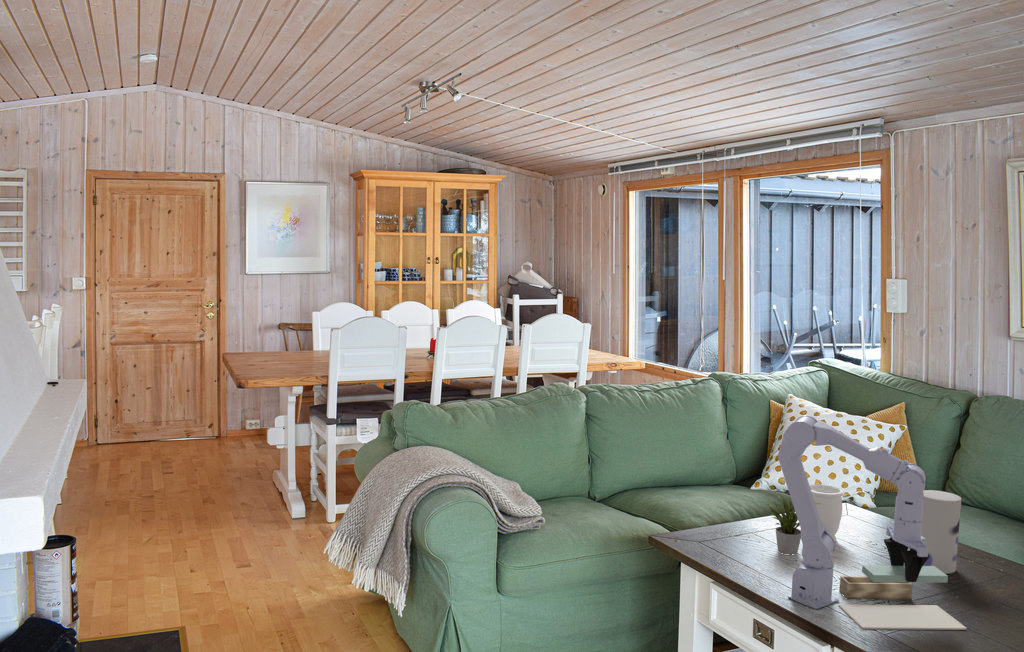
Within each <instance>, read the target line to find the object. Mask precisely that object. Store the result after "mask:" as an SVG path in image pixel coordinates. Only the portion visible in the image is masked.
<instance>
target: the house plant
mask: <svg viewBox="0 0 1024 652" xmlns="http://www.w3.org/2000/svg"><path fill="white" fill-rule="evenodd" d="M776 496H777V497H779V500H780V501H781V503H782V505H783V509H782V508H781V507H780V506H779V505H778V504H777V503H776V502H775V501H773V500H772V499H770V498H768V500H769V501H771V502H772V503H773V504H774V506H775V507H776V508H777V509H776V508H774V507H773V506H772V505H771V504H769V503H767V506H768V508H769V509H770V511H771V512H772V513H770V514H768V516H771V518H772V519H776V520H778V521H779V522H776V523H775V525H774V526H776V525H779V526H777V527H776V528H775V536H776V545H777V546H776V547H777V552H778V551H779V552H780V553H779V552H778V553H779V554H781V553H783V554H782V555H784V554H789V555H788V556H793V555H792V554H797V555H798V552H799V548H800V545H801V544H800V543H801V541H802V540H801V529H799V527H800V524H799V521H798V518H797V515H796V512H795V509H794V505H793V502H792V499H791V496H789V498H788V499H789V506H788V503H787V501H786V500H785V498H784V497H782V496H780V495H779V494H776ZM815 504H819V503H815ZM783 510H784V511H783Z"/></svg>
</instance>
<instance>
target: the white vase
mask: <svg viewBox="0 0 1024 652" xmlns="http://www.w3.org/2000/svg"><path fill="white" fill-rule="evenodd" d="M809 486H810V489H811V492H812V495H813V498H814V501H815V503H819V504H816V507H817V510H818V513H819V516H820V519H821V521H822V522H823V524H824V525H825V527H826V530H827V532H828V533H829V534H830V535H831V536H832V538H833V539H834V542H837V537H836V534H837V532H838V531H839V528H840V523H841V520H842V517H843V516H842V515H843V500H842V497H843V496H844V491H843V489H841V488H838V487H835V486H831V485H825V484H809Z"/></svg>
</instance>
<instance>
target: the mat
mask: <svg viewBox="0 0 1024 652" xmlns="http://www.w3.org/2000/svg"><path fill="white" fill-rule="evenodd" d="M838 607H839V608H840V609H841V610H842V611H843V612H844V613H845V614H846V615H847V616H848V617H849V618H850V619H852V621H854V623H856V625H858V626H859V628H861V630H926V631H927V630H929V631H930V630H931V631H932V630H933V631H934V630H939V631H940V630H942V631H944V630H945V631H946V630H947V631H950V630H951V631H952V630H953V631H954V630H955V631H958V630H962V631H963V630H966V631H967V629H968V627H966V626H964V624H962V623H961V622H960V621H958V620H957V619H956V618H954V617H953V616H952V615H951V614H949V613H948V612H946V611H945V610H943V608H941V607H940V606H938V605H936V604H934V605H933V604H932V605H929V604H841V603H840V604H838Z"/></svg>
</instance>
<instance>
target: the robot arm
mask: <svg viewBox="0 0 1024 652" xmlns="http://www.w3.org/2000/svg"><path fill="white" fill-rule="evenodd" d="M813 442H815V446H816V447H817V446H819V447H820V446H828V445H829V446H832V447H834V448H836V449H838V450H840V451H842V452H844V453H846V454H848V455H850V456H851V457H854V458H856V459H858V460H860V461H862V463H863V466H864V468H865V469H866V470H867V471H869V472H871V473H873V474H875V475H877V476H878V477H880V478H882V479H884V480H886V481H887V482H889V483H891V484H895V485H896V488H897V495H896V497H895V505H894V506H895V507H894V516H893V517H894V519H893V526H886V531H885V532H886V536H889V538H884V539H883V544H884V545H885V547H886V549H887V552H888V556H889V562H890V566H905V578H906V581H907V582H911V583H917V582H916V581H917V578H918V576H919V573H920V571H921V568H922V567H923V565H924V563H925V562H926V561H927V560H928V559H929V554H928V548H927V547H926V546H925V545H924V543H923V542H925V538H924V537H922V536H921V529H922V516H923V503H924V501H923V497H924V493H923V491H924V490H925V488H926V480H927V479H926V474H925V471H924V470H923V468H921V467H920V466H919V465H918V464H916V463H910V461H909V460H907V459H905V460H902V459H901V458H898V457H897V456H895V455H893V454H891V453H890V452H889V451H890V450H889V449H888V448H886V447H883V448H880V447H873V448H869V447H867V446H866V445H864V444H862V443H860V442H859V441H857V440H855V439H853V438H852V437H850V436H849V435H847V434H845V433H843V432H841V431H840V430H838V429H837V428H835V427H833V426H831V425H830V424H828V423H826V422H824V421H822V420H817V418H815V417H813V416H811V415H801V416H799V417H798V418H796V420H794V422H792V423H791V424H790V425H789V426H788V427H787V429H786V430H785V431H784V433H783V434H782V440H781V443H780V447H779V450H778V454H777V459H778V462H779V465H780V468H781V471H782V474H783V477H784V480H785V483H786V486H787V490H788V492H789V495H790V496H789V497H790V499H791V502H792V506H793V505H794V509H795V512H796V515H797V518H798V520H797V522H799V524H800V526H799V527H800V530H801V540H800V541H801V543H802V548H801V549H802V550H801V554H802V558H801V563H800V565H799V566H798V568H796V569H795V570H794V571H793V573H792V581H791V583H792V584H791V594H789V595H788V596H787V597H788V599H790V598H791V599H790V600H792V599H793V600H792V601H795V602H798V603H800V604H802V605H804V606H807V607H809V608H812V609H814V610H819V609H821V608H824V607H826V606H828V605H832V604H833V603H836V602H839V601H840V598H839V597H836V596H834V595H832V594H833V582H834V581H833V580H834V564H835V563H834V561H833V560H832V557H831V555H832V554H833V552H835V550H836V549H835V548H836V543H835V542H836V541H835V542H834V539H833V538H832V536H831V535H830V534H829V533H828V532H827V530H826V527H825V525H824V524H823V522H822V521H821V519H820V516H819V513H818V510H817V507H816V504H815V501H814V498H813V495H812V492H811V489H810V486H809V485H810V483H809V480H808V477H807V475H806V470H805V467H804V465H803V462H802V456H803V454H804V452H805V451H806V450H807V448H808V447H810V446H811V445H812V444H813Z"/></svg>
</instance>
